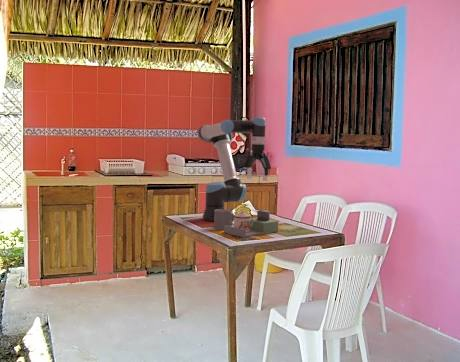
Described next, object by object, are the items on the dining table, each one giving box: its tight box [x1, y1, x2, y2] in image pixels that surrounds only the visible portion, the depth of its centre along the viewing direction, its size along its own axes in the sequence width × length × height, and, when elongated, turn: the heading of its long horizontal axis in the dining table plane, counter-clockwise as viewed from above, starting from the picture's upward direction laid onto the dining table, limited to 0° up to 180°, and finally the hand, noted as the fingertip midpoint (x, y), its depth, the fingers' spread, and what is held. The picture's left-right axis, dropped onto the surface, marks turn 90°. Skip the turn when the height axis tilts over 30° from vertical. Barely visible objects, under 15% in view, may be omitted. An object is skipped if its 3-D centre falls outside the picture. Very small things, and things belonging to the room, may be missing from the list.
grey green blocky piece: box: [223, 209, 279, 238], centre depth 310 cm, size 16×27×11 cm, turn 133°
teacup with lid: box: [233, 210, 254, 233], centre depth 306 cm, size 12×9×12 cm
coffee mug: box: [213, 208, 235, 230], centre depth 322 cm, size 13×10×10 cm
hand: (256, 179), depth 327 cm, fingers open, 13 cm apart
